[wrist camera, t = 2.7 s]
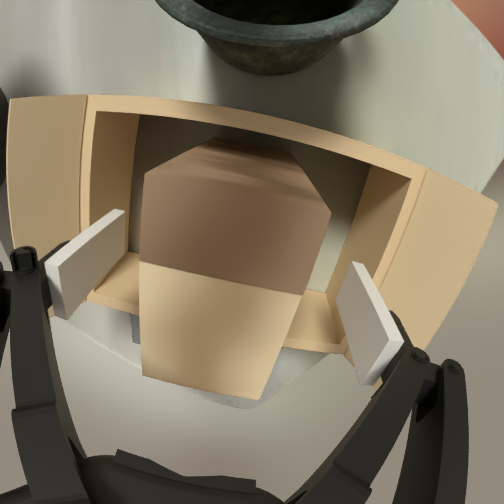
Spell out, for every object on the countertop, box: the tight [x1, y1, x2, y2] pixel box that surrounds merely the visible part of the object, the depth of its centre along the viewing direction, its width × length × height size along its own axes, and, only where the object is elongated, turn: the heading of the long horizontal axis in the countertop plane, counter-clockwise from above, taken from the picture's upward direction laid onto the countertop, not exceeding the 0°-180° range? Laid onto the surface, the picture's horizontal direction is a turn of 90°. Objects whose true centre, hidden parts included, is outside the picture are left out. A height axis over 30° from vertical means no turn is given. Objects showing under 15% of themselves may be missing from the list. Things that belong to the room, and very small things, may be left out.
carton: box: [6, 95, 499, 391], centre depth 18 cm, size 26×15×12 cm, turn 78°
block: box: [139, 138, 332, 400], centre depth 17 cm, size 6×10×14 cm, turn 168°
